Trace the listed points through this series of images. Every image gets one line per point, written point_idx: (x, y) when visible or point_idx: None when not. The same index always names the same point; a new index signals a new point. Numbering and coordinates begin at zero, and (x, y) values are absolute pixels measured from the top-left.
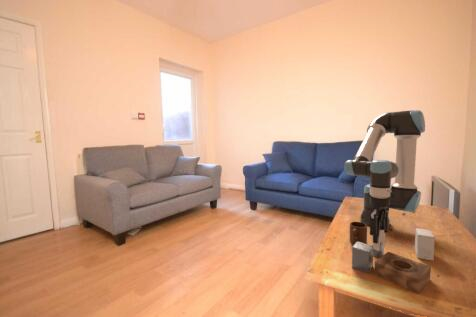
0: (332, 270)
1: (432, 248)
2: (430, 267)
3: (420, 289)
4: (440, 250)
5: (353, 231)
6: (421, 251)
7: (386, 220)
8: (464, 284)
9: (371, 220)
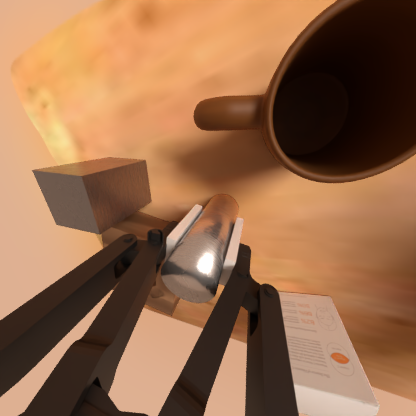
0: (60, 115)
1: None
2: (170, 314)
3: None
4: (359, 344)
5: (197, 109)
6: None
7: (247, 384)
8: (205, 324)
9: (7, 327)
